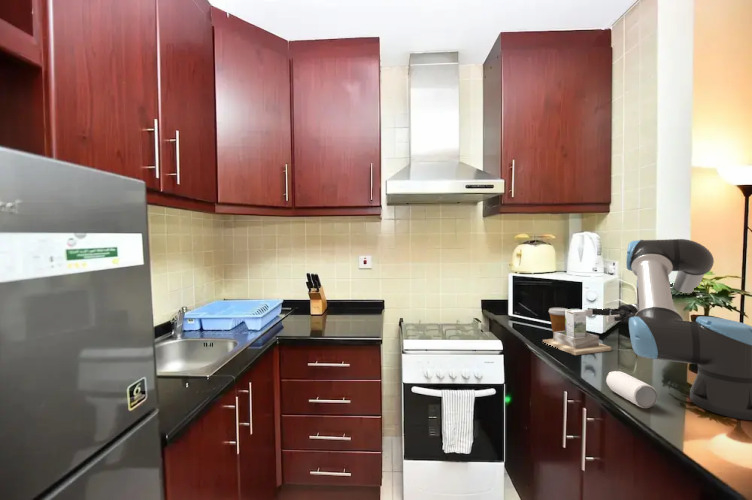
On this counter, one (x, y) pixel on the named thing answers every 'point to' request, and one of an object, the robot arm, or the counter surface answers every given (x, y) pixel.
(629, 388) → the can
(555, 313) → the disposable coffee cup
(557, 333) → the stand
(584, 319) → the syrup box
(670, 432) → the counter surface
